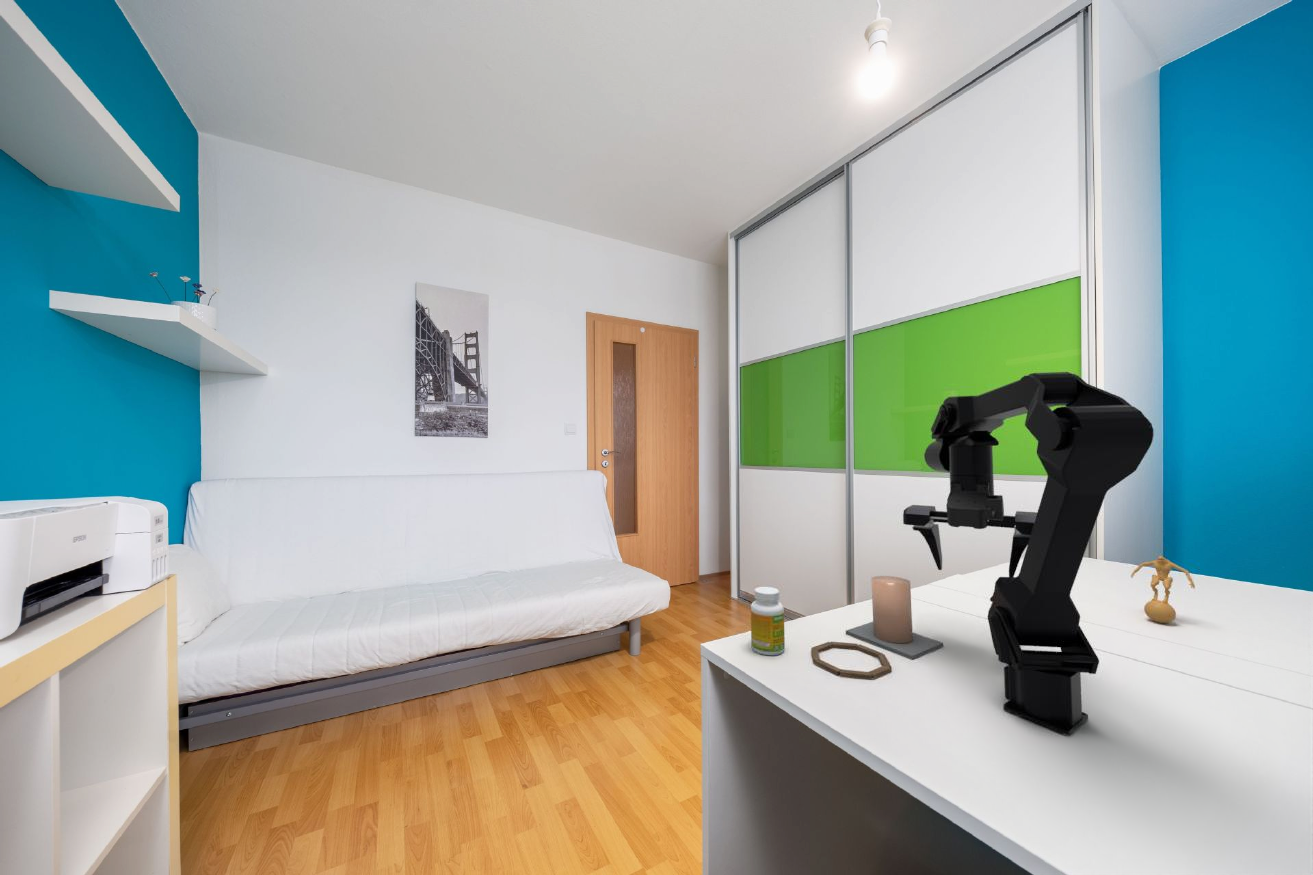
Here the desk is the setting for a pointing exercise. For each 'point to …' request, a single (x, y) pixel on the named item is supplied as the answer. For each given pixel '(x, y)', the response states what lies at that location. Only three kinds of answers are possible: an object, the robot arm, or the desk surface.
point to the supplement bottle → (767, 622)
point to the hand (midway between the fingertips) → (974, 574)
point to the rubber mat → (909, 650)
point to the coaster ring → (850, 673)
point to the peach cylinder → (892, 609)
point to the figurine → (1162, 609)
